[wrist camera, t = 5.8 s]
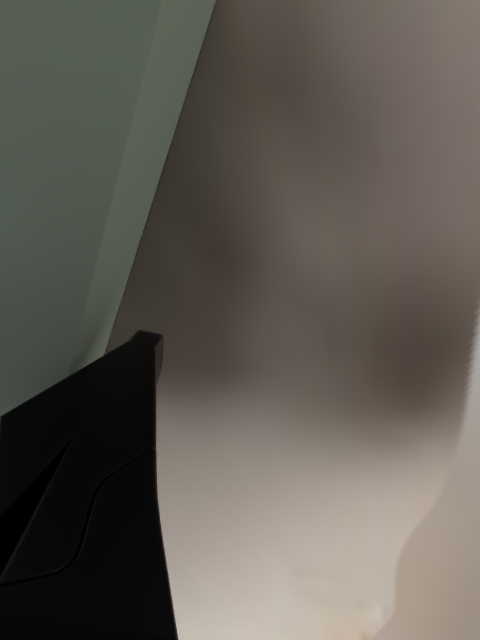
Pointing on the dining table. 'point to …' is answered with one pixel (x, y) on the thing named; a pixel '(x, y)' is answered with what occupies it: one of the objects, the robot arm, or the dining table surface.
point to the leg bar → (80, 168)
